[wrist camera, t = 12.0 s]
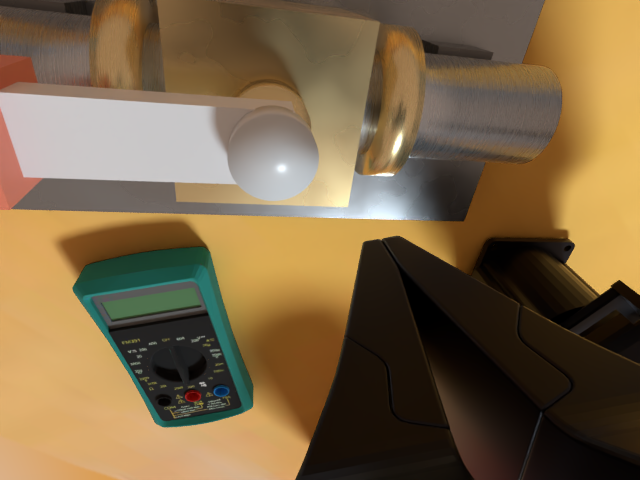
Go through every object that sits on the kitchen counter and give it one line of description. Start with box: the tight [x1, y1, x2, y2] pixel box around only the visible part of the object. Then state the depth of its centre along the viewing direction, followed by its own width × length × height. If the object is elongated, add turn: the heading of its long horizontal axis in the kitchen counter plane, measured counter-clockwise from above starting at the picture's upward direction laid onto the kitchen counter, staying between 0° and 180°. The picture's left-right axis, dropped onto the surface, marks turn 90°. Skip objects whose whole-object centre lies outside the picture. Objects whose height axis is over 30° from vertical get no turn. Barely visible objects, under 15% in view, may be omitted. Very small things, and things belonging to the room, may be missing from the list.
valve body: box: [0, 0, 562, 221], centre depth 15 cm, size 24×14×8 cm, turn 83°
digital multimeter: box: [73, 247, 253, 427], centre depth 26 cm, size 7×15×3 cm, turn 5°
